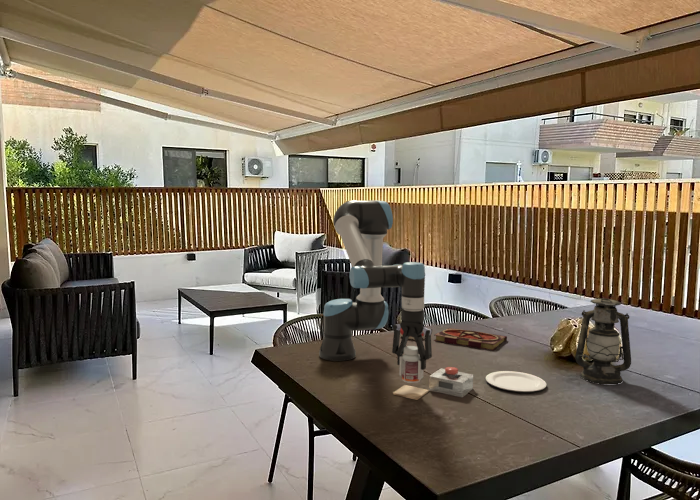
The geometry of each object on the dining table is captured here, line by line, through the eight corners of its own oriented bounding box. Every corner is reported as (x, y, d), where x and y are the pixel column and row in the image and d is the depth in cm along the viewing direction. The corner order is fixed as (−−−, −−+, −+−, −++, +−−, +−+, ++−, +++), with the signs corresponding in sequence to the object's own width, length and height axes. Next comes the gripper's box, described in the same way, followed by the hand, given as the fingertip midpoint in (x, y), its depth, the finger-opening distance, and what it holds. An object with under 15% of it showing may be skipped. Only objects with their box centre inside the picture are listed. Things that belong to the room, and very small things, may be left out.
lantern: (626, 375, 197) (631, 297, 194) (636, 392, 179) (641, 306, 176) (572, 369, 203) (576, 293, 200) (576, 385, 185) (581, 302, 182)
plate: (515, 399, 172) (515, 394, 172) (473, 380, 191) (473, 375, 191) (559, 389, 182) (559, 385, 182) (515, 372, 200) (515, 367, 200)
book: (506, 342, 245) (507, 332, 244) (493, 352, 227) (493, 341, 227) (449, 333, 260) (449, 324, 259) (432, 342, 242) (433, 331, 242)
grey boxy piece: (428, 390, 179) (429, 376, 178) (440, 381, 187) (440, 368, 187) (462, 397, 172) (462, 383, 172) (472, 388, 181) (473, 374, 180)
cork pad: (392, 394, 175) (392, 392, 175) (404, 386, 182) (404, 384, 182) (417, 400, 170) (417, 398, 170) (428, 391, 177) (428, 390, 177)
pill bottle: (424, 381, 175) (424, 348, 174) (409, 385, 171) (410, 351, 170) (412, 376, 180) (412, 344, 179) (398, 379, 176) (398, 346, 175)
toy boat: (404, 334, 254) (404, 319, 253) (426, 338, 248) (426, 322, 247) (396, 337, 248) (397, 322, 247) (419, 341, 241) (419, 325, 241)
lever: (442, 387, 179) (443, 369, 179) (447, 383, 183) (448, 366, 182) (454, 389, 177) (455, 371, 176) (459, 385, 181) (460, 368, 180)
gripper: (382, 307, 175) (381, 374, 177) (434, 314, 165) (433, 385, 167) (392, 303, 182) (391, 368, 184) (444, 310, 171) (442, 378, 173)
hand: (411, 376), depth 175 cm, fingers closed on pill bottle, 6 cm apart
